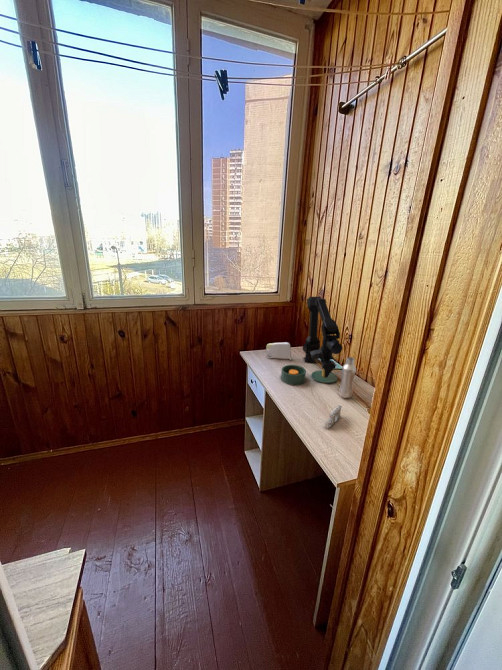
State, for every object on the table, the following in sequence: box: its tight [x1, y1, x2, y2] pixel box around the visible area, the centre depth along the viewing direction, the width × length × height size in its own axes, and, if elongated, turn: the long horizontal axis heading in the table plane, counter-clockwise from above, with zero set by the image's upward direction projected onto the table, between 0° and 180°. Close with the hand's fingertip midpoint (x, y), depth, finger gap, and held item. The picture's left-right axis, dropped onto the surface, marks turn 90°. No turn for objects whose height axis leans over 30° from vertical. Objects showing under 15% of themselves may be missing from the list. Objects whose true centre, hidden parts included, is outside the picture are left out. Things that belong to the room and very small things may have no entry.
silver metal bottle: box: [338, 356, 357, 399], centre depth 139 cm, size 6×7×20 cm
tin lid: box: [311, 369, 338, 384], centre depth 158 cm, size 14×14×6 cm
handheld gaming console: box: [265, 341, 292, 362], centre depth 180 cm, size 11×3×15 cm
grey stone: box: [325, 404, 342, 430], centre depth 122 cm, size 12×2×6 cm, turn 140°
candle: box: [289, 370, 298, 375], centre depth 156 cm, size 5×5×4 cm
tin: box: [280, 364, 307, 386], centre depth 156 cm, size 13×13×5 cm
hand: (324, 373), depth 158 cm, fingers open, 9 cm apart
